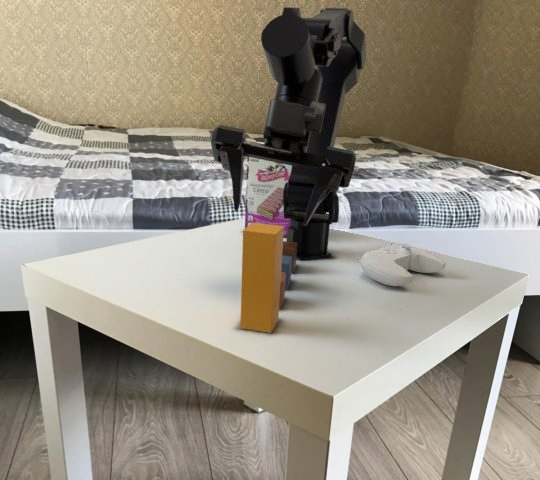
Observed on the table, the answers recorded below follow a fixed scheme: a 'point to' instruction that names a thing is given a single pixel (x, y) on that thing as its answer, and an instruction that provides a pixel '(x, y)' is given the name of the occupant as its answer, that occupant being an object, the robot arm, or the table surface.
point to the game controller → (399, 263)
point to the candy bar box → (266, 192)
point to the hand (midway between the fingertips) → (270, 217)
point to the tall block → (261, 276)
